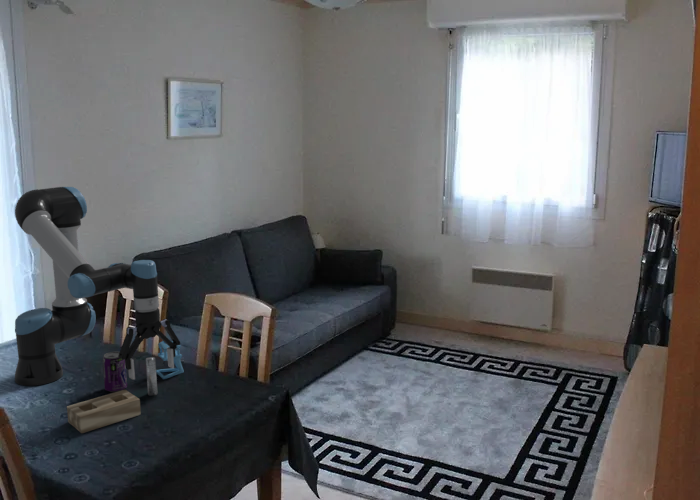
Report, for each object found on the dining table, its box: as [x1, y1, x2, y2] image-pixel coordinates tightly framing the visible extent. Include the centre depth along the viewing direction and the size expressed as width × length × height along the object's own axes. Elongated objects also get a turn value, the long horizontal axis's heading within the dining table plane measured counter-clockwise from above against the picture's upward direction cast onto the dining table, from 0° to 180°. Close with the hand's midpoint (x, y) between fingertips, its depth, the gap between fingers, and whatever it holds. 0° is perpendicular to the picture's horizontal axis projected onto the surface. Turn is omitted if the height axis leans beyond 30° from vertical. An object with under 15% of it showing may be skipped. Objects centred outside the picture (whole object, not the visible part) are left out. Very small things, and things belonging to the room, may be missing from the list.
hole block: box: [66, 389, 142, 434], centre depth 204 cm, size 10×18×5 cm, turn 133°
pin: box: [145, 356, 159, 397], centre depth 221 cm, size 3×3×12 cm
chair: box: [156, 340, 184, 380], centre depth 238 cm, size 8×8×12 cm
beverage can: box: [101, 351, 128, 393], centre depth 225 cm, size 7×7×12 cm
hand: (152, 372), depth 220 cm, fingers open, 13 cm apart
